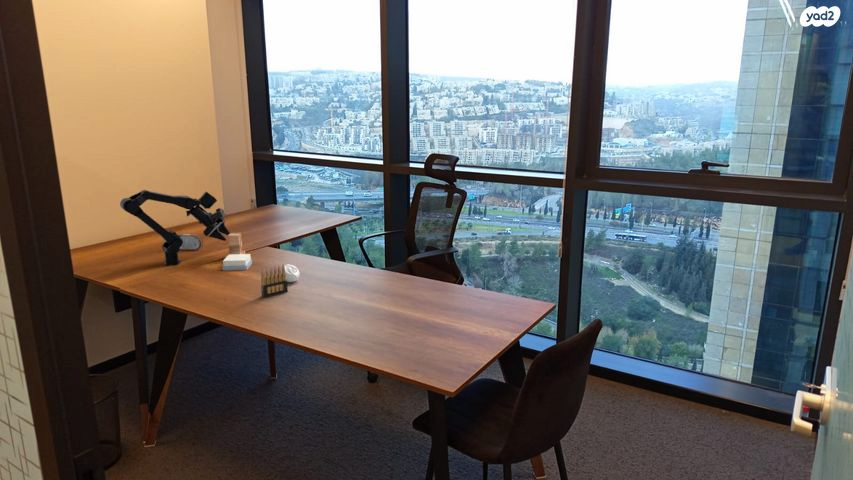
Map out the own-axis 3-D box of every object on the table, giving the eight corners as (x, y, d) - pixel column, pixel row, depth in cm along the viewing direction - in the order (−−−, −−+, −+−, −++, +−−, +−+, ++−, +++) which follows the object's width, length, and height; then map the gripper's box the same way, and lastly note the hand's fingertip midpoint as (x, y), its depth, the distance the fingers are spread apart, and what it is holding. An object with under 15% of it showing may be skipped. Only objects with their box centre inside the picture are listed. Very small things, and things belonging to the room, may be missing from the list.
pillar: (242, 259, 283) (240, 235, 279) (227, 259, 282) (225, 236, 279) (245, 255, 289) (243, 232, 286) (231, 255, 289) (229, 232, 286)
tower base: (247, 271, 267) (246, 266, 267) (222, 271, 266) (222, 266, 266) (252, 263, 278) (251, 258, 277) (228, 264, 277) (228, 259, 276)
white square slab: (245, 265, 267) (245, 260, 266) (223, 266, 266) (223, 260, 266) (250, 259, 277) (250, 254, 276) (229, 259, 276) (228, 254, 275)
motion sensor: (294, 285, 247) (293, 268, 245) (278, 284, 248) (277, 266, 246) (302, 279, 254) (301, 262, 252) (286, 278, 256) (285, 261, 254)
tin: (204, 249, 300) (202, 233, 298) (201, 251, 297) (199, 235, 295) (176, 248, 301) (174, 232, 299) (173, 250, 298) (171, 234, 296)
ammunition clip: (285, 290, 241) (284, 263, 237) (288, 291, 239) (286, 264, 236) (261, 296, 234) (259, 268, 231) (263, 297, 233) (261, 269, 229)
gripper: (207, 208, 269) (234, 230, 273) (218, 200, 287) (243, 221, 291) (192, 225, 271) (218, 247, 274) (203, 216, 289) (228, 237, 292)
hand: (228, 237), depth 283 cm, fingers open, 9 cm apart
